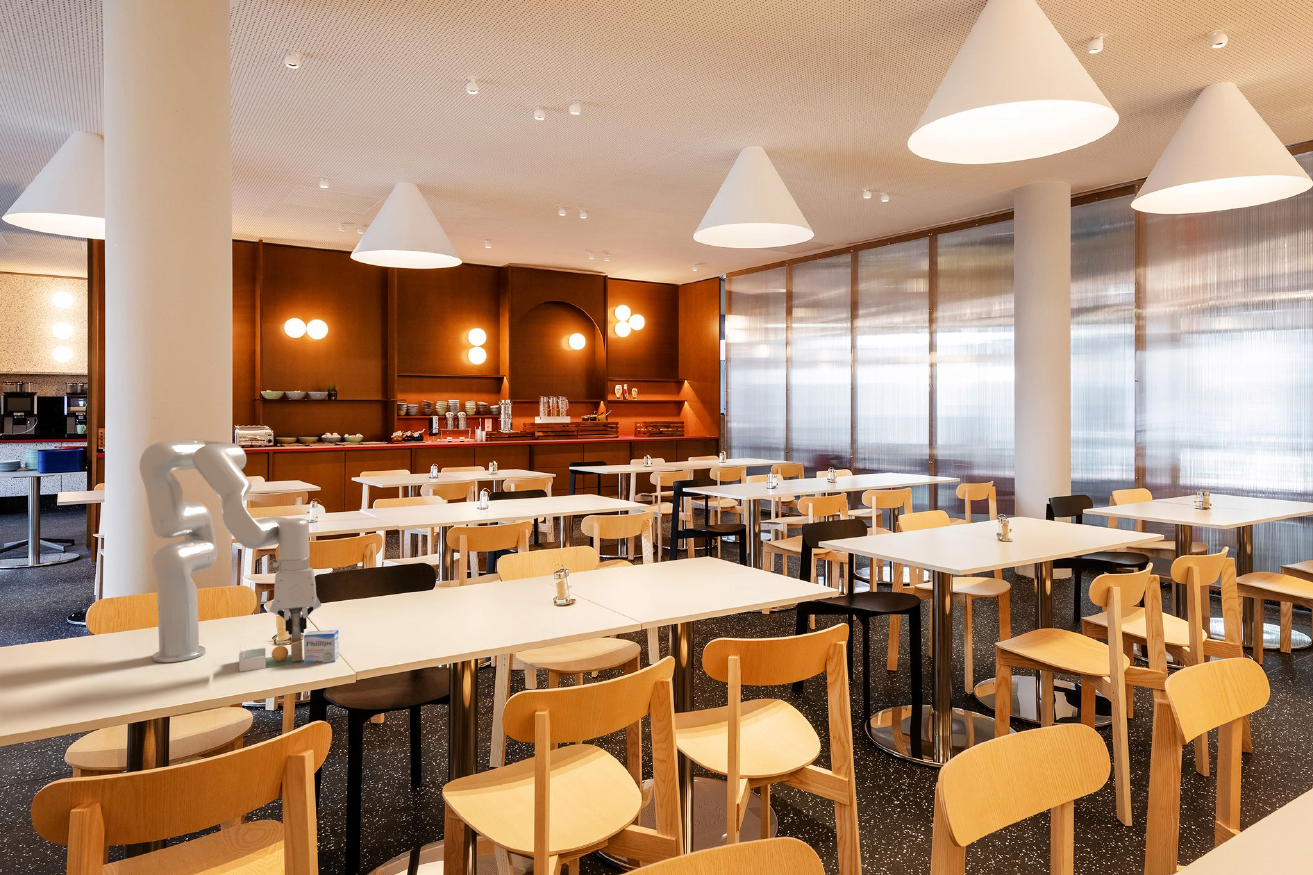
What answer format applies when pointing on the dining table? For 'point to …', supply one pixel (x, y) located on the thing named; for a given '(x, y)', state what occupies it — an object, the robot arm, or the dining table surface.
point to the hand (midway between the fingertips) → (296, 632)
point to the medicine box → (321, 646)
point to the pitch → (260, 660)
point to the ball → (279, 653)
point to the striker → (296, 634)
